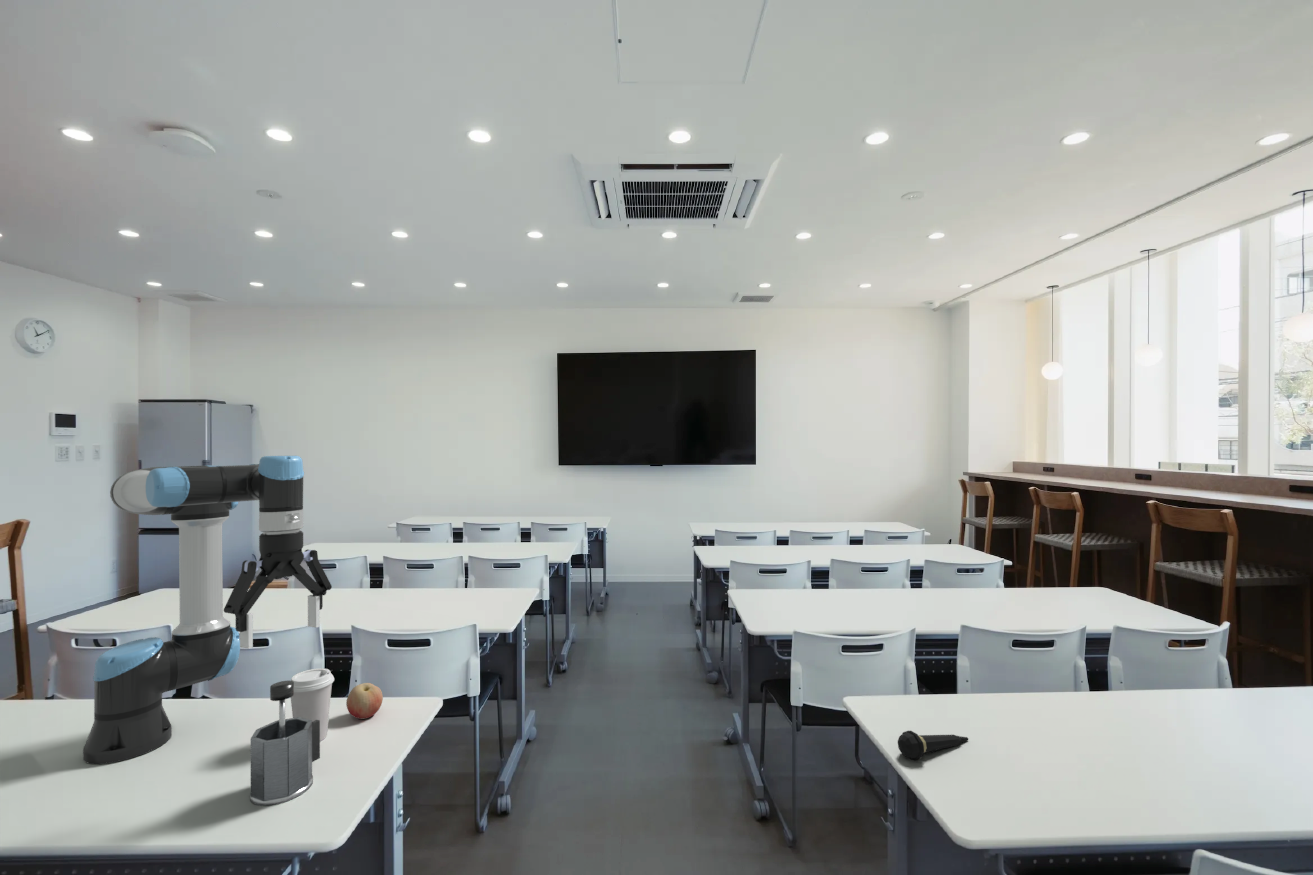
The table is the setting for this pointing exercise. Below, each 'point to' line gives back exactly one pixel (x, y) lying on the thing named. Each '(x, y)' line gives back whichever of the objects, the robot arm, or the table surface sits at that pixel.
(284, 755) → the press carafe
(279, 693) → the plunger
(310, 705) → the coffee cup
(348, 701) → the fruit
